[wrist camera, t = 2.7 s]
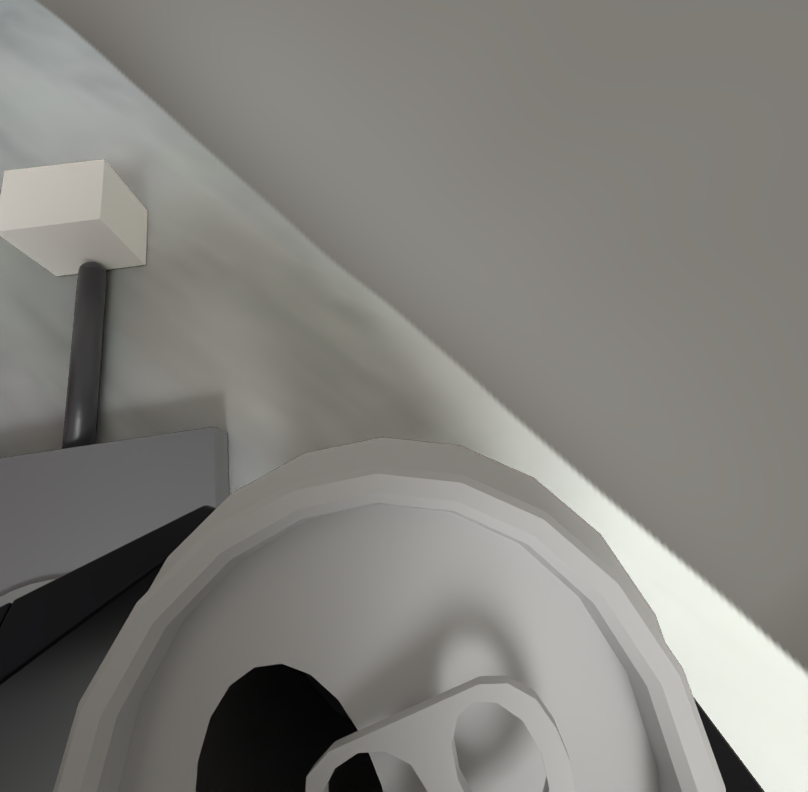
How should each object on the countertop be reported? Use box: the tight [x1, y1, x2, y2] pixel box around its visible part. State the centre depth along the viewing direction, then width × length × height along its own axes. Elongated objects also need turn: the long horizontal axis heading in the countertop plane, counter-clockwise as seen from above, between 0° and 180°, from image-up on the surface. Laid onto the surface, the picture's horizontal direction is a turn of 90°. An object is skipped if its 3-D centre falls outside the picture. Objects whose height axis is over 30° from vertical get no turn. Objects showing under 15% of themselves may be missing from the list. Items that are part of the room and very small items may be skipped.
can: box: [53, 437, 726, 792], centre depth 9 cm, size 8×8×12 cm
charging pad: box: [0, 159, 229, 607], centre depth 14 cm, size 30×11×3 cm, turn 9°
